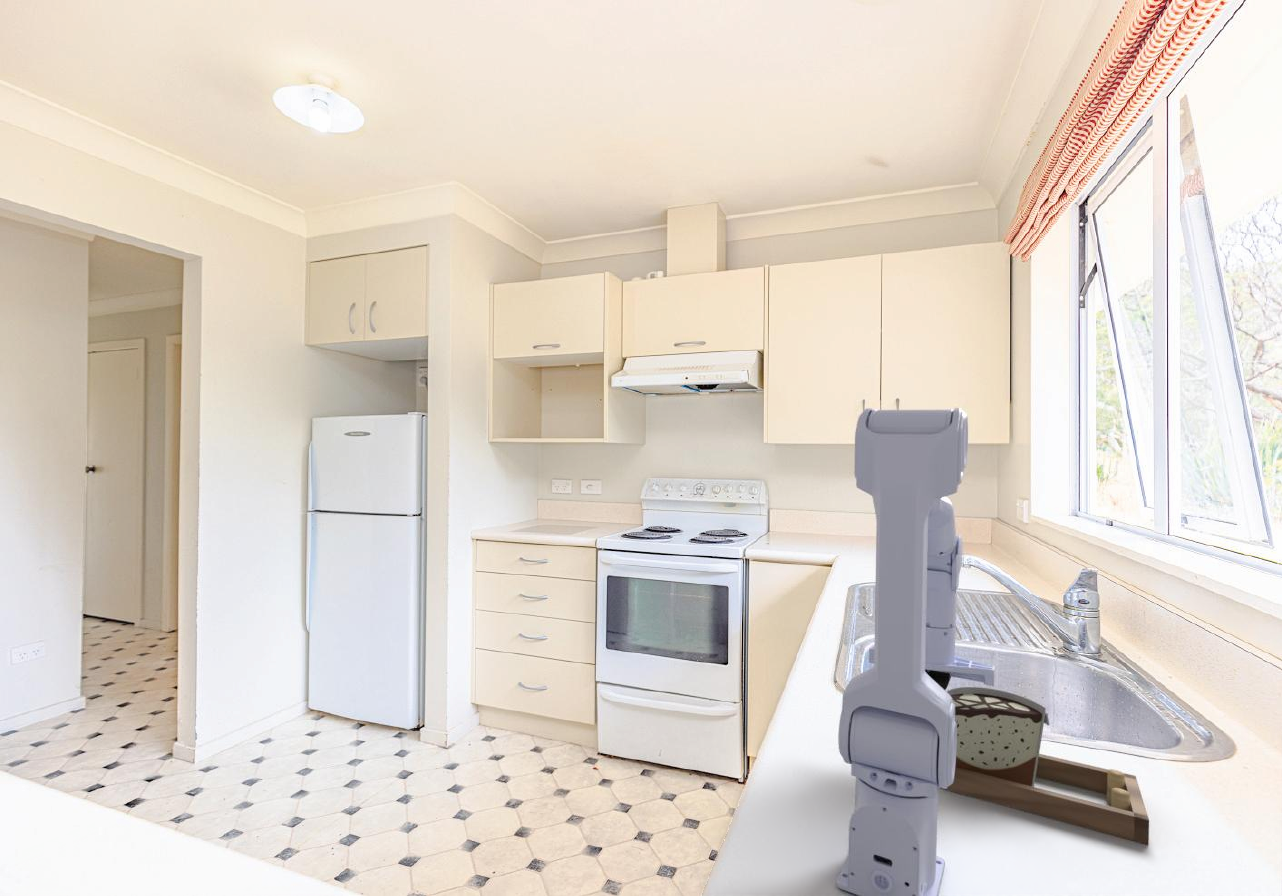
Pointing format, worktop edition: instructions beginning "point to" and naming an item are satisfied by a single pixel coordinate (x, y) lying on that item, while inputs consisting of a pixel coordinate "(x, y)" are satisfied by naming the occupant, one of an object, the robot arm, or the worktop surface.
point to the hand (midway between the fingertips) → (927, 729)
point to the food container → (998, 733)
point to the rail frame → (1120, 788)
